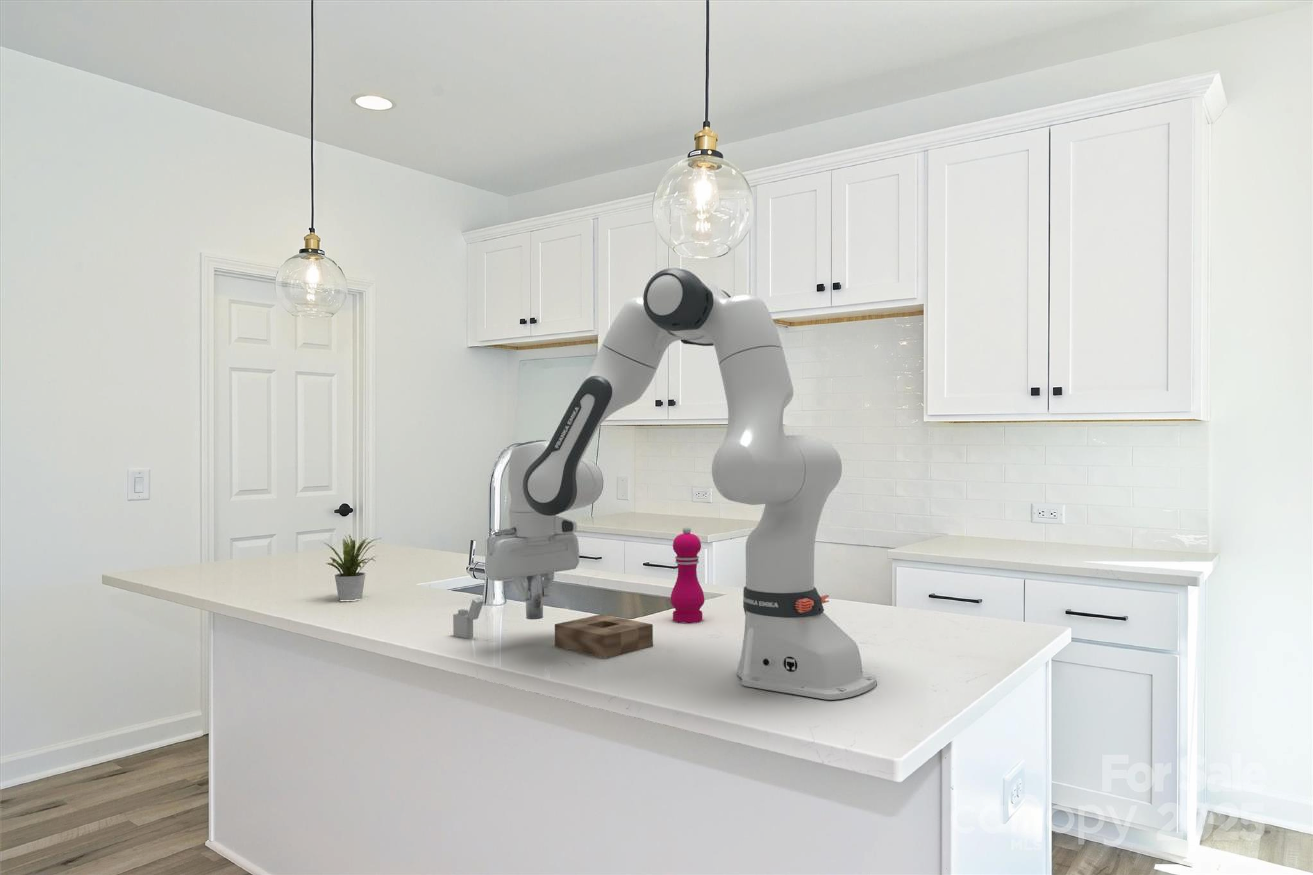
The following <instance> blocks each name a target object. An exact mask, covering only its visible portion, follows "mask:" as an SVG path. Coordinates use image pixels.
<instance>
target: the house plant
mask: <svg viewBox="0 0 1313 875" xmlns="http://www.w3.org/2000/svg"><path fill="white" fill-rule="evenodd" d="M344 537H345V538H343V539H342V549H343V550H342V555H343V558H342V557H341V555H340V554H339V553H338V552H337V550H336V549H335V548H334V547H332V546H331V545H329V544H328V543H326V542H322V541H321V544H322V543H323V544H325V545H327V546H328V547H329V548H330V549H331V550H332V551H333V552H334V554H335V556H336V557H337V558H338V560H337V559H336V558H334V557H333V556H332V557H329V558H330V559H331V560H332V562H326V565H329V566H331V567H334V568H335V569H336V570H337V571H338V572H339V573H336V574H335V575H334V579H335V585H336V590H337V596H338V600H339V599H340V600H355V599H361V598H362V599H363V592H364V586H365V580H366V573H365V572H361V570H362V569H363V568H364V567H365V565H366V564H368V563H369V562H370V561H374V562H375V563H376V560H375V559H374V558H376V557H377V555H376V556H373V557H371V558H369V559H368V558H363V557H364V555H365V554H366V553H367V551H368V550H369V549H370V548H372V547H374V546H375V544H373V545H371V546H369V547H368V548H367V546H368V545H369V544H371V543H372V542H374V541H377V540H381V539H382V537H380V538H379V537H378V538H374V539H372V540H370V541H367V540H368V538H369V537H368V538H365V539H362V540H361V541H360V542H359V544H358V546H357V547H356V539H353V538H352V536H351V535H350V534H349V533H348V537H347V535H344ZM366 548H367V549H366ZM365 549H366V550H365ZM364 550H365V551H364ZM363 551H364V553H363ZM362 553H363V554H362ZM361 554H362V556H361ZM360 556H361V558H360ZM362 558H363V559H362ZM366 560H367V561H366ZM339 561H340V562H339ZM361 564H362V565H361ZM358 569H359V570H358Z"/></svg>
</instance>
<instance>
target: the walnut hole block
mask: <svg viewBox="0 0 1313 875" xmlns="http://www.w3.org/2000/svg"><path fill="white" fill-rule="evenodd" d="M653 625H654V624H653V623H648V622H644V621H643V622H642V621H638V620H633V619H627V618H622V617H618V616H613V615H612V616H611V615H609V614H597V615H592V616H586V617H584V618H577V619H573V620H569V621H563V622H560V623H554V646H556V647H560V648H564V649H567V650H571V651H575V652H579V653H583V654H586V655H590V656H591V655H592V656H595V657H599V658H603V659H609V658H612V657H616V656H620V655H623V654H627V653H632V652H635V651H639V650H643V649H646V648H651V647H653V646H654V637H653V636H654V630H653V627H654V626H653Z"/></svg>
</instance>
